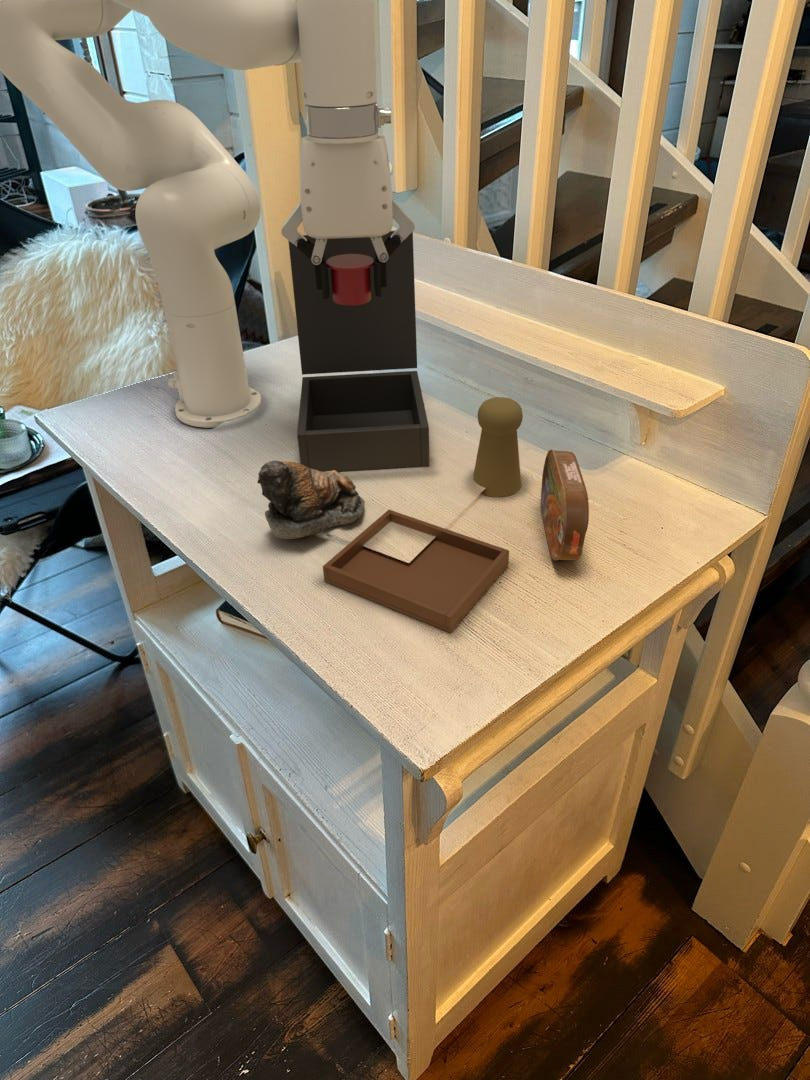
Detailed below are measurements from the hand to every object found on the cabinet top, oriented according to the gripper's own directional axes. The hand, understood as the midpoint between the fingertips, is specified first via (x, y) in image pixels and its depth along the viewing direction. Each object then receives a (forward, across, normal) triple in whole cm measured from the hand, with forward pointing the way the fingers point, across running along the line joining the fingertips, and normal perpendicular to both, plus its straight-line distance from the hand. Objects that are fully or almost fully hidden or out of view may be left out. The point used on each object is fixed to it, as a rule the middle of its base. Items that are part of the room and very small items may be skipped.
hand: (352, 292), depth 90 cm
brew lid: (+5, 0, -10) cm, 11 cm away
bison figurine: (+21, +5, +20) cm, 29 cm away
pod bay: (+20, 0, 0) cm, 21 cm away
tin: (+20, -22, +24) cm, 38 cm away
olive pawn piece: (+20, -16, +12) cm, 29 cm away
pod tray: (+20, -5, +29) cm, 36 cm away
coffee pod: (+1, 0, 0) cm, 1 cm away
